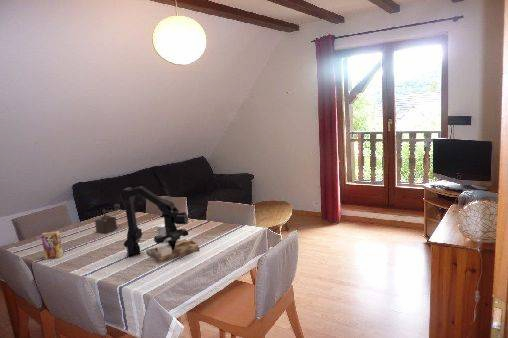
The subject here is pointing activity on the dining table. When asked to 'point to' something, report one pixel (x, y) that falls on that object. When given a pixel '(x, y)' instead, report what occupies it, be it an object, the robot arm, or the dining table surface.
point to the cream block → (164, 250)
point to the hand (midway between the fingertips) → (173, 250)
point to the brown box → (106, 222)
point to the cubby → (187, 246)
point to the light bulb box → (162, 230)
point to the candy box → (52, 245)
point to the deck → (175, 253)
